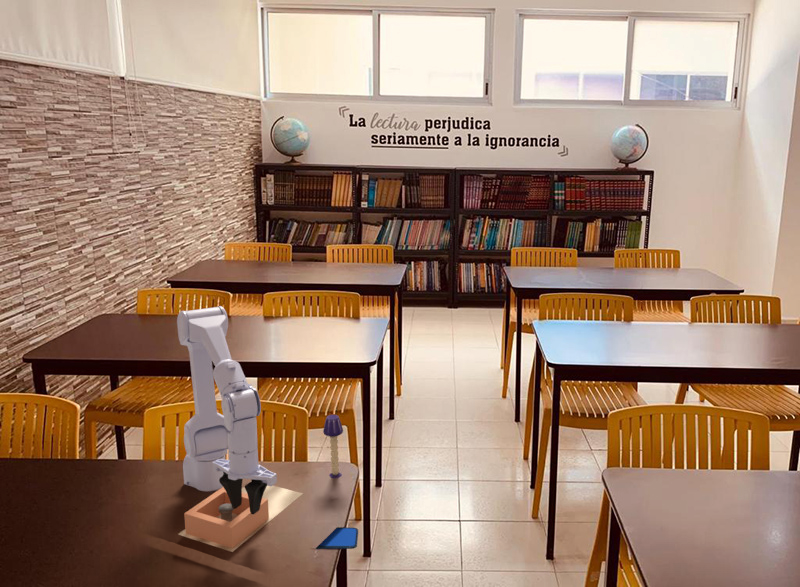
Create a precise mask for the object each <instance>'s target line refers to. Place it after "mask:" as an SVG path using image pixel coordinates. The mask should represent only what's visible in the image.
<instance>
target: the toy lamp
mask: <svg viewBox="0 0 800 587" xmlns="http://www.w3.org/2000/svg"><path fill="white" fill-rule="evenodd" d="M341 422H342V421H341V419H340V417H339V415H337V414H330V415H327V416H326V418H325V422H324V424H323V425H324V427H323V430H322V431H323V432H322V433H323V435H325V436H327V437H329V438H330V440H329V443H330V462H331V464H330V466H331V473H329V476H328V477H329V478H332V479H339V478H340V477H342V475H343V474H342V472H340V471H339V467H340V466H339V457H338V456H339V450H338V449H339V446H338V441H339V440H338V436H341V435H342V434H343V433H344V429H343V426H342V425H343V424H342V423H341Z"/></svg>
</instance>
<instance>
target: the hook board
mask: <svg viewBox="0 0 800 587" xmlns="http://www.w3.org/2000/svg"><path fill="white" fill-rule="evenodd" d="M242 492H243V493H247V491H246V489H245V486H244V487H243V486H242ZM303 494H304V493H303V492H299V491H295V490H291V489H287V488H284V487H281V486H277V485H272V486H267V487H266V489H265V491H264V494H263V497H262V498H265V499H268V511H269V519H268V520H266V521H265V522H264V523H263V524H262V525H260V526H259V527H258V528H257V529H255V530H254V531H253V532H252V533H251V534H249V535H248V536H247V537H246V538H244V539H243V540H242V541H241V542H240V543H238V544H237V545H236V546H235V547H233V548H230V547H227V546H224V545H221V544H218V543H214V542H211V541H208V540H205V539H202V538H199V537H196V536H193V535H189V534H186V531H185V529H183V530H181V531H180V532H179V533H177V535H178V536H182V537H185V538H187V539H190V540H194V541H197V542H200V543H202V544H205V545H209V546H213V547H214V548H215V547H216V548H219V549H222V550H225V551H228V552H232V553H233V552H234V551H235V550H237V549H239V547H240V546H242V545H243V544H245V542H247V541H248V540H249V539H250V538H252V537H253V536H254V535H255V534H256V533H257V532H258V531H260V530H261V529H262V528H264V527H265V526H266V525H268V524H269V523H270V522H271V521H272V520H273V519H275V518H276V517H277V516H278V515H279V514H280V513H282V512H283V511H284V510H285V509H286V508H288V507H289V506H290V505H291V504H292V503H294V502H295V501H296V500H297V499H299V498H300V497H301V496H302V495H303ZM233 510H234V509H233V508H232V505H231V504H228V503H227V504H222V505H221V506H219V512H220V513H221V514H220V515H219V516H217V517H216V518H219V519H222V520H226V521H229V522H231V521H232V520H233V519H235V518H236V517H237V516H238V514H234V513H232V511H233Z"/></svg>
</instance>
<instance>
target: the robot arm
mask: <svg viewBox="0 0 800 587" xmlns="http://www.w3.org/2000/svg"><path fill="white" fill-rule="evenodd" d="M176 326H177V334H178V341H179V345H181V346H185V347H187V350H188V354H189V363H190V372H191V381H192V382H191V383H192V390H193V391H192V394H193V403H194V412H195V414H194V415H193V416H192V417H191V418H190V419H189V420H187V421H186V423H184V427H183V429H184V435H183V443H184V448H185V452H186V455H185V457H184V459H183V462H182V469H183V470H182V472H183V484H184V485H186V486H190V487H192V488H195V489H196V490H198V491H201V492H213V491H218V490H219V489H221V488H222V487H224V489H225V490H226V492H227V494H228V497H229V499H230V502H231V505H232V508H233V509H236V508H237V507H239V506H240V505H241V503H242V488H243V480H251V481H249V482H248V483H247V484H245V485H244V487H245V489H246V491H247V494H248V498H249V506H250V512H251V514H255V513H256V512H258V511H259V510H260V505H261V500H262V497H263V494H264V491H265V489H266V487H267V486H272V485H273V486H275V484H277V482H278V479H277V478H278V477H277V473H275V472H273V471H270V470H268V469H267V468H266V467H264V466H262V465H261V464H260V463H259V451H258V450H259V449H258V427H257V426H258V425H257V417H259V416H260V414H261V410H262V404H261V398H260V396H259V393H258V390H257V389H256V387H253V385H252V384H251V383H249V382H248V381H247V378H246V375H245V374H244V371H243V368H242V366H241V364H240V363H239V361H236V360H233V358H232V356H231V353H230V349H229V345H228V343H227V339H226V337H227V333H228V329H229V318H228V313H227V311H226V309H225V308H224V307H223V306H222V305H218V306H215V307H214V306H213V307H206V308H200V309H199V308H198V309H192V310H180V311H179V312H178V314H177V318H176ZM213 365H214V366H215V367H213ZM215 384H216V386H217V390H218V391H219V394H220V396H221V402H220V404H221V410H222V414H221V413H220V412H218V410H217V408H218V407H217V400H216V393H215V392H216V389H215ZM227 454H228V459H226V455H227Z"/></svg>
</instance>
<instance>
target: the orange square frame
mask: <svg viewBox="0 0 800 587" xmlns="http://www.w3.org/2000/svg"><path fill="white" fill-rule="evenodd" d="M227 503H228V504H231V502H230V499H229V497H228V494H227V492H226V490H225V489H224V487H222V488H220V489H218V490H215V492H214V493H212V494H210V495H209V496H208V497H207V498H205V499H203V500H202V501H200V502H199V503H197V504H196V505H194V506H193V507H192V508H190V509H189V510H188V511H185V512H184V514H183V515H184V528H185V531H186V534H189V535H193V536H196V537H199V538H202V539H205V540H208V541H211V542H214V543H218V544H221V545H224V546H227V547H230V548H233V547H235V546H236V545H237V544H238V543H240V542H241V541H242V540H243V539H244V538H246V537H247V536H248V535H249V534H251V533H252V532H253V531H254V530H255V529H257V528H258V527H259V526H260V525H262V524H263V523H264V522H265V521H266V520H268V519H269V511H268V499H265V498H262V500H261V505H260V510H259V511H258V512H256V513H255V514H251V512H250V506H249V498H248V494H247V493H243V492H242V503H241V505H240V506H239V507H237V508H236V509H234V510H233V511H232V513H234V514H238V516H237V517H236V518H235V519H233V520H232V521H231V522H229V521H226V520H222V519H219V518H216V517H217V516H219V515H220V514H221V513H220V512H219V506H221V505H222V504H227Z"/></svg>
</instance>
